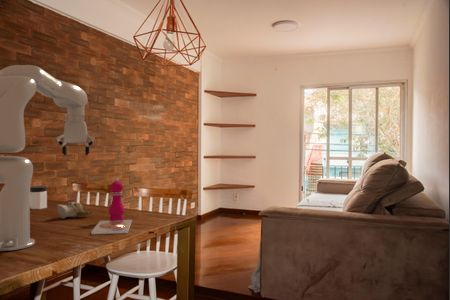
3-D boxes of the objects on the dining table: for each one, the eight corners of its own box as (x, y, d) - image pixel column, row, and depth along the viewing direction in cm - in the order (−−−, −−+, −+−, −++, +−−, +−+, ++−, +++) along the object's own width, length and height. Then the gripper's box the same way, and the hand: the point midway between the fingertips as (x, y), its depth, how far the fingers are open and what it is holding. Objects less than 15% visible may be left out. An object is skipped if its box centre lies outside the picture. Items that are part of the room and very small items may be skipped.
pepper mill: (119, 222, 160) (119, 179, 160) (105, 221, 162) (105, 178, 161) (127, 218, 167) (127, 177, 167) (113, 218, 169) (113, 177, 168)
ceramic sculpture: (54, 199, 169) (85, 198, 179) (53, 217, 169) (84, 215, 179) (61, 202, 161) (93, 201, 171) (59, 221, 161) (91, 218, 171)
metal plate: (127, 233, 140) (127, 229, 140) (91, 234, 138) (91, 231, 138) (131, 222, 160) (131, 219, 160) (100, 223, 157) (100, 220, 157)
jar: (39, 206, 199) (39, 185, 199) (50, 207, 196) (50, 186, 196) (25, 208, 191) (25, 187, 190) (36, 209, 188) (36, 187, 188)
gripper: (54, 118, 159) (54, 155, 159) (93, 119, 163) (93, 155, 163) (58, 119, 167) (58, 154, 167) (96, 120, 170) (96, 154, 171)
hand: (76, 155), depth 165 cm, fingers open, 9 cm apart
